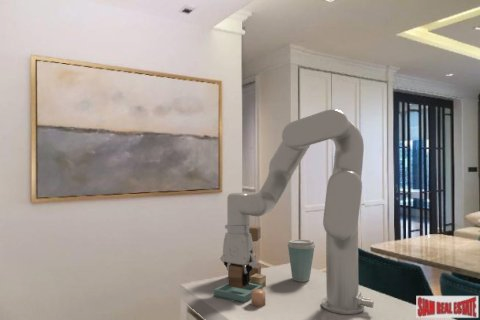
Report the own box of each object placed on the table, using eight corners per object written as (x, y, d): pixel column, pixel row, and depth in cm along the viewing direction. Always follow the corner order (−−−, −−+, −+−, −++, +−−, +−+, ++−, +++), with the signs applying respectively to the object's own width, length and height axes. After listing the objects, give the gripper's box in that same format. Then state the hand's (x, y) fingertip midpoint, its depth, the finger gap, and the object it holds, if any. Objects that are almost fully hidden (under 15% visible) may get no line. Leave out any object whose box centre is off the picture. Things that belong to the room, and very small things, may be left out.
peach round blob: (267, 303, 110) (267, 290, 110) (261, 308, 106) (261, 295, 106) (255, 300, 112) (255, 288, 112) (248, 305, 109) (248, 292, 109)
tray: (262, 292, 120) (262, 285, 120) (244, 303, 110) (244, 296, 110) (233, 285, 126) (233, 279, 126) (213, 296, 116) (213, 289, 116)
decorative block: (261, 277, 136) (260, 226, 137) (257, 281, 131) (257, 228, 131) (234, 274, 140) (234, 224, 140) (229, 278, 134) (229, 227, 135)
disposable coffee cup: (281, 278, 134) (281, 239, 135) (300, 273, 141) (300, 236, 141) (302, 285, 126) (301, 244, 126) (321, 279, 133) (321, 240, 133)
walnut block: (241, 288, 115) (241, 267, 115) (228, 286, 117) (228, 265, 118) (249, 284, 119) (248, 263, 119) (236, 281, 122) (236, 261, 122)
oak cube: (265, 286, 126) (265, 275, 126) (260, 289, 123) (260, 278, 123) (256, 284, 128) (256, 273, 128) (250, 287, 125) (250, 276, 125)
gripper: (211, 228, 120) (212, 281, 119) (254, 233, 111) (254, 290, 110) (224, 225, 126) (224, 276, 126) (265, 229, 117) (266, 284, 117)
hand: (238, 282), depth 118 cm, fingers closed on walnut block, 4 cm apart
